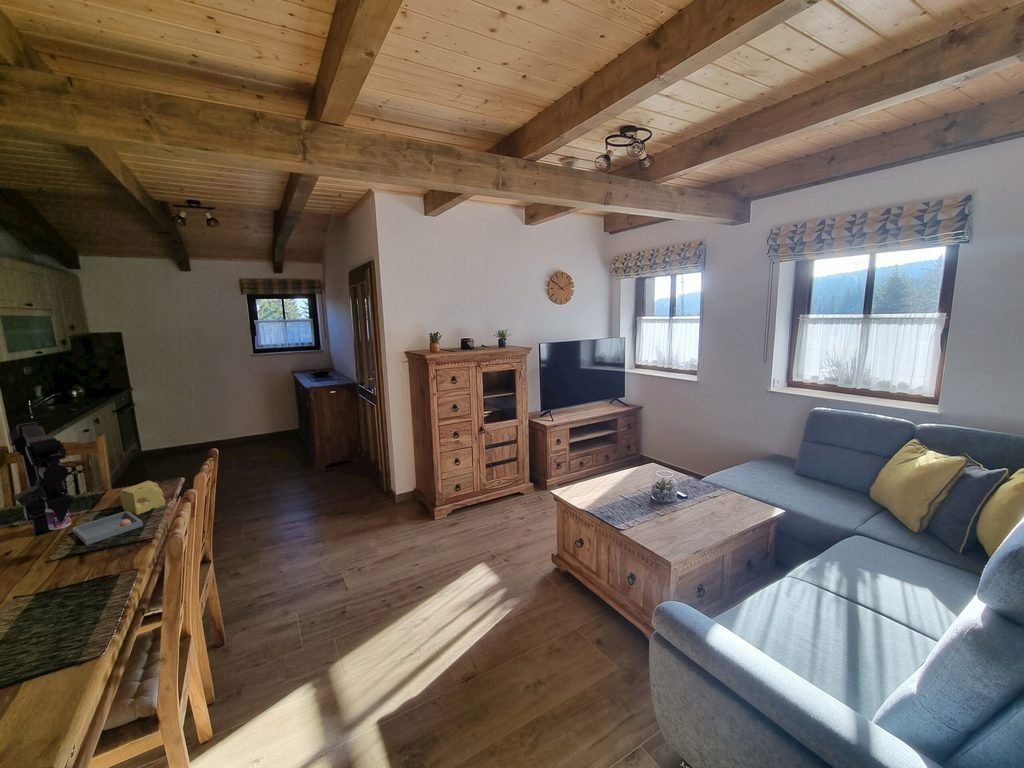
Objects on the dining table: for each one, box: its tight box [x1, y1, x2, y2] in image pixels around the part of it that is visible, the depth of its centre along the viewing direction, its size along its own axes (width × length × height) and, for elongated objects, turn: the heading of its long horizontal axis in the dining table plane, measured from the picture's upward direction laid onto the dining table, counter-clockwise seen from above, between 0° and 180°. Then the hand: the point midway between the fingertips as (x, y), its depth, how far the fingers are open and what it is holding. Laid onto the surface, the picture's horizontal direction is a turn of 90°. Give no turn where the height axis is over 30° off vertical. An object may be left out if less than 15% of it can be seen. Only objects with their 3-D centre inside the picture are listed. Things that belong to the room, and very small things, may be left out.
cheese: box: [119, 480, 166, 516], centre depth 180 cm, size 10×11×10 cm
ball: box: [120, 519, 131, 527], centre depth 164 cm, size 3×3×3 cm
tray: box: [72, 510, 144, 546], centre depth 163 cm, size 16×16×3 cm
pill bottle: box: [45, 508, 72, 531], centre depth 146 cm, size 5×5×10 cm
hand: (59, 519), depth 147 cm, fingers closed on pill bottle, 5 cm apart
